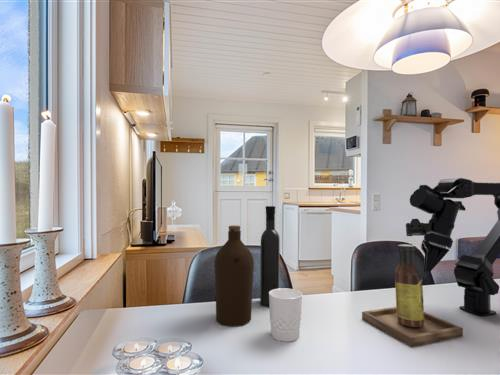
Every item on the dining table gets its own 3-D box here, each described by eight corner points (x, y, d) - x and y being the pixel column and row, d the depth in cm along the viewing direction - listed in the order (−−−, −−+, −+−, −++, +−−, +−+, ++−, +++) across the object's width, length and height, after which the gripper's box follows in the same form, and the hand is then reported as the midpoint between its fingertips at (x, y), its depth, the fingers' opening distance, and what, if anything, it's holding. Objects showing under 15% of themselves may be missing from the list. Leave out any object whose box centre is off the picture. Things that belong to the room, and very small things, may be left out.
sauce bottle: (429, 329, 74) (426, 247, 75) (403, 328, 74) (401, 247, 75) (416, 318, 80) (413, 243, 81) (392, 318, 81) (390, 243, 82)
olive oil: (261, 320, 81) (262, 226, 81) (229, 331, 74) (230, 229, 75) (237, 308, 89) (237, 223, 90) (206, 318, 82) (207, 225, 83)
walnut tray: (407, 312, 87) (407, 305, 87) (462, 336, 72) (462, 328, 72) (362, 319, 82) (362, 311, 82) (411, 347, 67) (411, 337, 67)
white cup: (301, 345, 68) (301, 299, 68) (266, 341, 69) (266, 297, 69) (302, 329, 75) (302, 289, 76) (270, 326, 77) (271, 287, 77)
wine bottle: (259, 306, 91) (260, 206, 92) (261, 299, 97) (262, 205, 98) (278, 307, 90) (279, 206, 91) (279, 300, 96) (279, 206, 97)
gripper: (411, 217, 98) (396, 263, 97) (412, 204, 82) (394, 258, 81) (451, 228, 93) (436, 277, 91) (460, 216, 77) (442, 275, 75)
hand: (426, 272), depth 85 cm, fingers open, 9 cm apart
